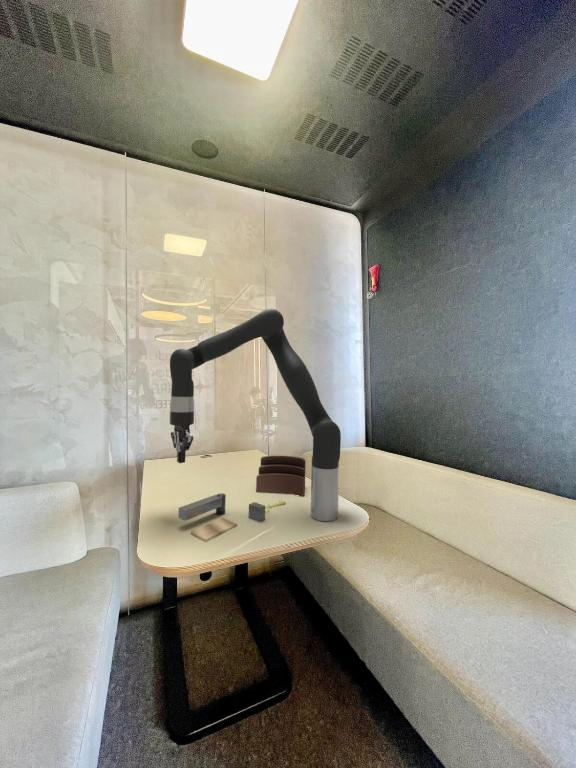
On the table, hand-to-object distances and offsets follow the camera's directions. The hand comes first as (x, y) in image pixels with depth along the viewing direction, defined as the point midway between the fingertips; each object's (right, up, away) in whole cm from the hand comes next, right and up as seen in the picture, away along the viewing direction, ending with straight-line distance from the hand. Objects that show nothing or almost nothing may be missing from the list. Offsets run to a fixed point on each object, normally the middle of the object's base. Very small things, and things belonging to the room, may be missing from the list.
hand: (181, 462), depth 99 cm
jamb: (+17, -19, +1) cm, 26 cm away
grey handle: (+8, -18, -2) cm, 20 cm away
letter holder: (+33, -20, +27) cm, 47 cm away
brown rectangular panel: (+13, -19, -9) cm, 24 cm away
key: (+29, -20, +9) cm, 36 cm away
